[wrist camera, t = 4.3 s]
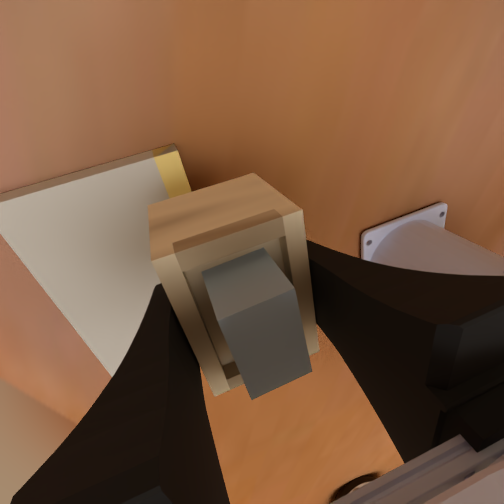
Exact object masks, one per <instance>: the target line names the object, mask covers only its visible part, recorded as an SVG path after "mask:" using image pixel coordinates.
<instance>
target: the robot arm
mask: <svg viewBox="0 0 504 504" xmlns="http://www.w3.org/2000/svg"><path fill="white" fill-rule="evenodd" d="M446 213H447V204H446V203H443V202H440V203H437V204H435V205H432V206H429V207H427V208H424V209H421V210H419V211H416V212H413V213H411V214H408V215H405V216H403V217H400V218H397V219H395V220H392V221H390V222H387V223H384V224H382V225H379V226H376V227H374V228H371V229H368V230H366V231H364V232H363V233H362V235H361V259H360V258H357V257H353V256H350V255H347V254H344V253H341V252H338V251H335V250H332V249H329V248H327V247H324V246H321V245H319V244H316V243H314V242H311V241H309V240H306V243H307V251H308V260H309V268H310V276H311V285H312V293H313V302H314V310H315V319H316V323H317V325H318V326H319V327H320V328H321V330H322V331H323V332H324V333H325V335H326V336H327V337H328V338H329V340H330V341H331V342H332V343H333V345H334V346H335V348H336V349H337V350H338V352H339V353H340V355H341V356H342V358H343V359H344V361H345V363H346V364H347V366H348V367H349V369H350V370H351V372H352V373H353V375H354V377H355V378H356V380H357V382H358V383H359V385H360V387H361V388H362V390H363V391H364V393H365V395H366V396H367V398H368V400H369V401H370V403H371V405H372V406H373V408H374V410H375V412H376V413H377V415H378V417H379V418H380V420H381V422H382V424H383V425H384V427H385V429H386V431H387V432H388V434H389V436H390V438H391V440H392V441H393V443H394V445H395V447H396V449H397V450H398V452H399V454H400V456H401V458H402V459H403V461H404V463H405V464H403V465H401V466H399V467H397V468H396V469H394V470H392V471H390V472H388V473H386V474H384V475H382V476H381V477H379V478H377V479H375V480H373V481H371V482H369V483H367V484H366V485H364V486H362V487H360V488H358V489H356V490H354V491H353V492H351V493H349V494H347V495H345V496H343V497H341V498H339V499H338V500H336V501H334V502H332V503H330V504H504V257H503V256H500V255H498V254H496V253H494V252H492V251H490V250H488V249H486V248H484V247H481V246H479V245H477V244H475V243H473V242H471V241H469V240H467V239H465V238H463V237H460V236H458V235H456V234H454V233H452V232H450V231H448V230H446V229H444V225H445V219H446ZM368 240H369V241H368ZM367 241H368V242H367ZM10 504H230V502H229V498H228V494H227V490H226V487H225V483H224V479H223V475H222V471H221V468H220V464H219V460H218V456H217V452H216V448H215V444H214V440H213V436H212V432H211V427H210V423H209V419H208V415H207V411H206V406H205V400H204V394H203V387H202V380H201V373H200V365H199V362H198V360H197V358H196V356H195V354H194V352H193V349H192V347H191V345H190V343H189V341H188V339H187V337H186V335H185V332H184V330H183V328H182V326H181V324H180V322H179V320H178V318H177V315H176V313H175V311H174V309H173V307H172V305H171V303H170V300H169V298H168V296H167V294H166V292H165V290H164V288H163V286H162V283H160V284H157V285H156V286H155V288H154V290H153V293H152V296H151V299H150V301H149V304H148V307H147V309H146V312H145V314H144V317H143V319H142V322H141V324H140V326H139V329H138V331H137V333H136V335H135V337H134V339H133V341H132V343H131V345H130V347H129V349H128V351H127V353H126V355H125V357H124V359H123V360H122V362H121V364H120V366H119V367H118V369H117V370H116V372H115V374H114V375H113V377H112V378H111V380H110V381H109V383H108V384H107V386H106V387H105V389H104V390H103V391H102V393H101V394H100V396H99V397H98V398H97V400H96V401H95V403H94V404H93V405H92V407H91V408H90V409H89V411H88V412H87V413H86V415H85V416H84V417H83V418H82V420H81V421H80V422H79V423H78V425H77V426H76V427H75V428H74V430H73V431H72V432H71V433H70V434H69V436H68V437H67V438H66V439H65V440H64V442H63V443H62V444H61V445H60V446H59V447H58V448H57V450H56V451H55V452H54V453H53V454H52V455H51V456H50V457H49V458H48V459H47V461H46V462H45V463H44V464H43V465H42V466H41V467H40V468H39V469H38V470H37V471H36V472H35V474H34V475H33V476H32V477H31V478H30V479H29V480H28V481H27V482H26V483H25V484H24V485H23V487H22V488H21V489H20V490H19V491H18V492H17V493H16V494H15V495H14V496H13V498H12V501H11V503H10Z"/></svg>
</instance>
